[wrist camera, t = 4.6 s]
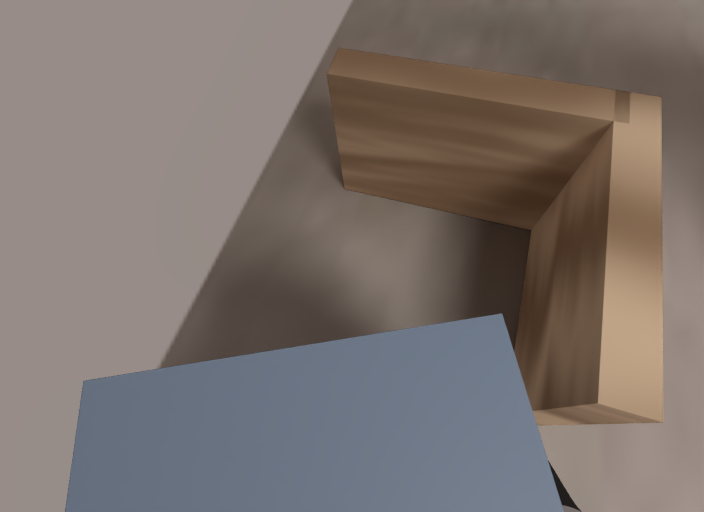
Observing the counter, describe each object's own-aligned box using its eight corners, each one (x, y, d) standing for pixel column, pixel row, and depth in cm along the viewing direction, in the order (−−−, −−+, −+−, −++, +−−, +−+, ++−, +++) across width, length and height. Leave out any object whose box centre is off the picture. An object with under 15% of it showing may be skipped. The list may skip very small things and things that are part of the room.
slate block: (423, 390, 14) (502, 313, 4) (457, 552, 12) (741, 1078, 2) (293, 411, 15) (83, 380, 5) (305, 574, 13) (-27, 1167, 3)
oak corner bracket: (540, 425, 17) (663, 422, 9) (286, 346, 19) (226, 294, 12) (563, 213, 21) (661, 96, 14) (352, 168, 23) (338, 47, 16)
